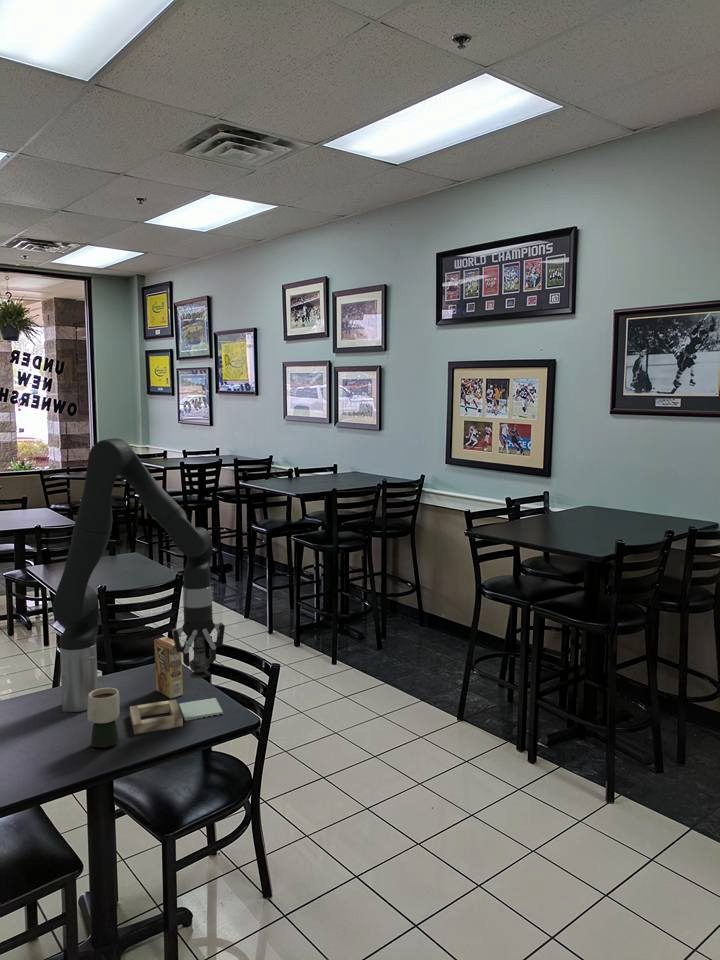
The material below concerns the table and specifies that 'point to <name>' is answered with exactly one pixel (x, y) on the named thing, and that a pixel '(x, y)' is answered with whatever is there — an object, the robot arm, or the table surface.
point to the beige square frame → (155, 723)
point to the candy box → (168, 668)
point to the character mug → (103, 716)
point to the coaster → (200, 709)
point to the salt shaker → (199, 660)
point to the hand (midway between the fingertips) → (199, 663)
